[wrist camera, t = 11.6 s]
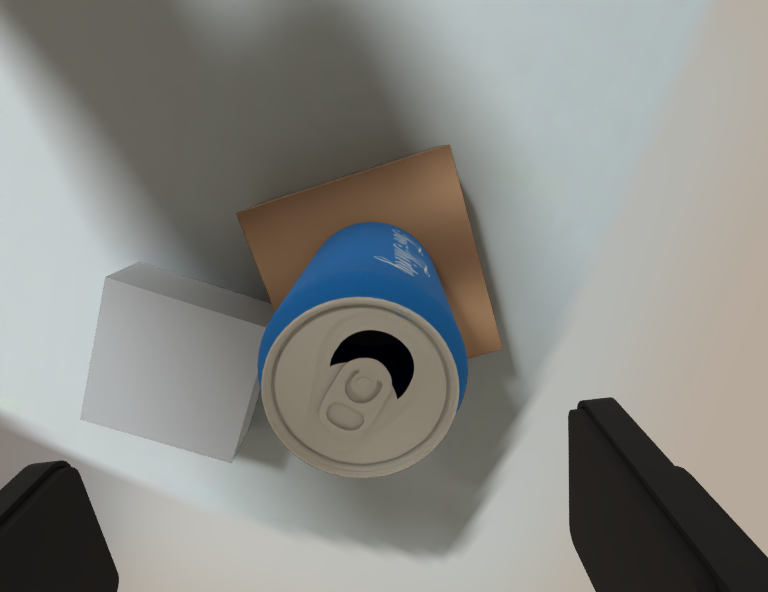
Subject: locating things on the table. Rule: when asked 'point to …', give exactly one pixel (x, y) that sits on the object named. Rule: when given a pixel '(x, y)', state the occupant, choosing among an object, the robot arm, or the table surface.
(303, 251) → the walnut block
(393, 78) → the table surface
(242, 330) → the grey square block
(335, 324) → the beverage can
